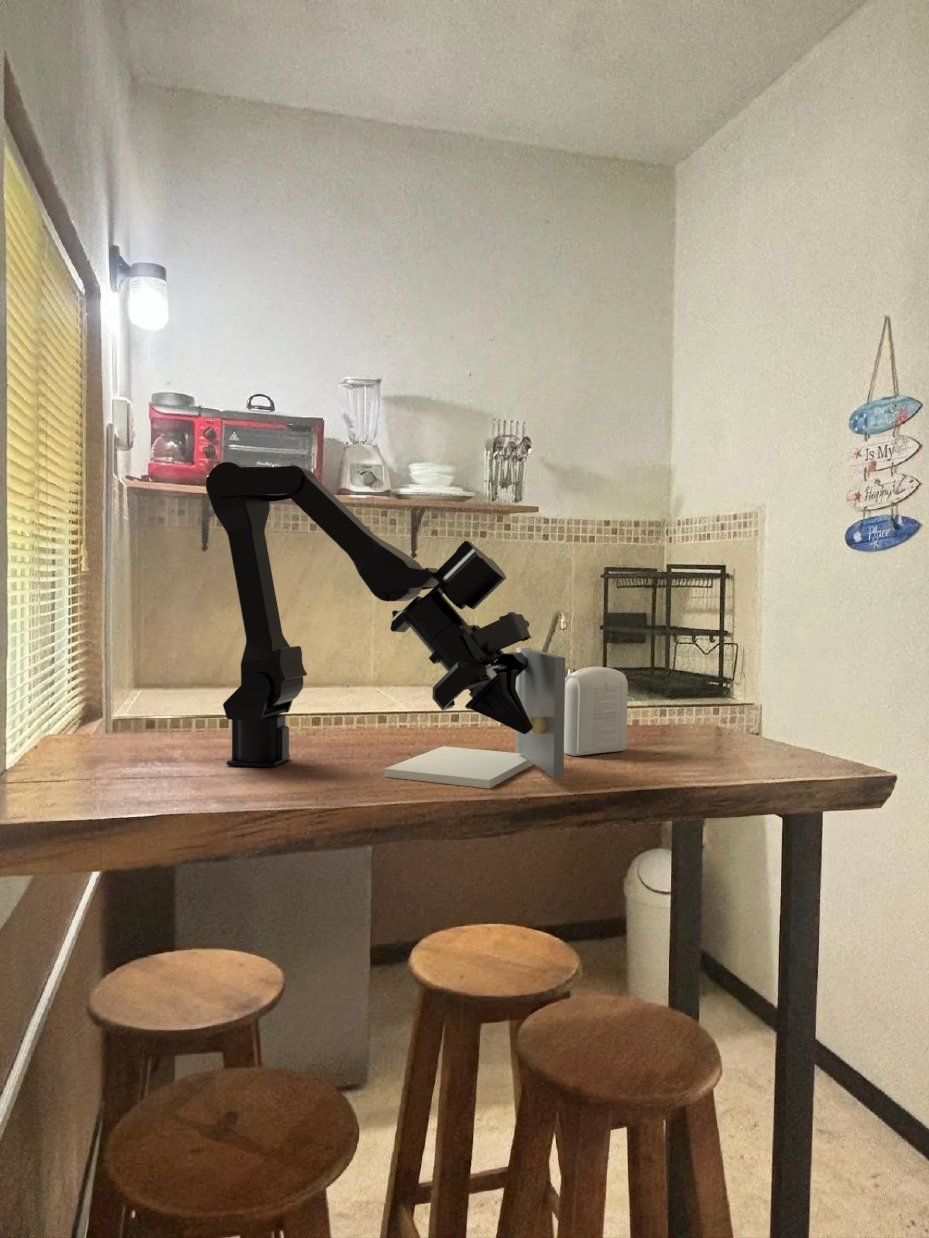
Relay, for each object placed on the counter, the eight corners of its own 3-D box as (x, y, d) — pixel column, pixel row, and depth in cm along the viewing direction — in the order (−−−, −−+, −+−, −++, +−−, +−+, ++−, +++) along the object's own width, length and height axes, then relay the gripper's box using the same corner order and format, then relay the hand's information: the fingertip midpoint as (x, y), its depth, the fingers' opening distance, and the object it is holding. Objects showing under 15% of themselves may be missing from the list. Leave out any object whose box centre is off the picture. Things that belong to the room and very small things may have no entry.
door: (540, 778, 99) (542, 657, 98) (504, 750, 116) (506, 647, 115) (566, 777, 99) (568, 657, 99) (527, 750, 116) (529, 647, 116)
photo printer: (610, 746, 128) (612, 664, 128) (631, 751, 124) (632, 666, 124) (557, 753, 122) (558, 667, 122) (577, 758, 119) (578, 669, 118)
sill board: (384, 776, 106) (384, 768, 106) (443, 753, 121) (443, 746, 121) (489, 788, 100) (489, 779, 100) (536, 762, 115) (536, 754, 115)
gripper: (459, 589, 95) (552, 695, 91) (516, 590, 112) (597, 679, 108) (395, 656, 98) (482, 761, 94) (460, 647, 115) (536, 735, 111)
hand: (529, 731), depth 102 cm, fingers closed
